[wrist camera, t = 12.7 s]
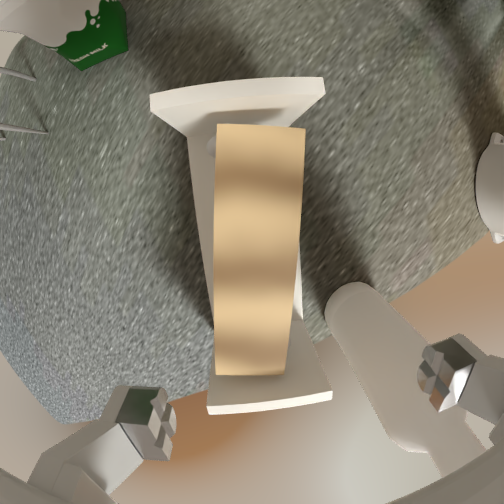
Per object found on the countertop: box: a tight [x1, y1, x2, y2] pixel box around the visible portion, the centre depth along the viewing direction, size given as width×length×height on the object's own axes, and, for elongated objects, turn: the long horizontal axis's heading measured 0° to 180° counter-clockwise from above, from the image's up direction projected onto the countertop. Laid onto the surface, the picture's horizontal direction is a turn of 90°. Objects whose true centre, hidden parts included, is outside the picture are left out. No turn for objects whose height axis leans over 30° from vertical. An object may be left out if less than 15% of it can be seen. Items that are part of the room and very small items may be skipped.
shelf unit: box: [150, 77, 333, 415], centre depth 25 cm, size 11×25×14 cm, turn 6°
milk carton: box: [0, 0, 128, 71], centre depth 14 cm, size 9×9×20 cm
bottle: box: [324, 282, 487, 478], centre depth 21 cm, size 8×8×30 cm
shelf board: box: [213, 124, 305, 375], centre depth 22 cm, size 20×6×3 cm, turn 178°
